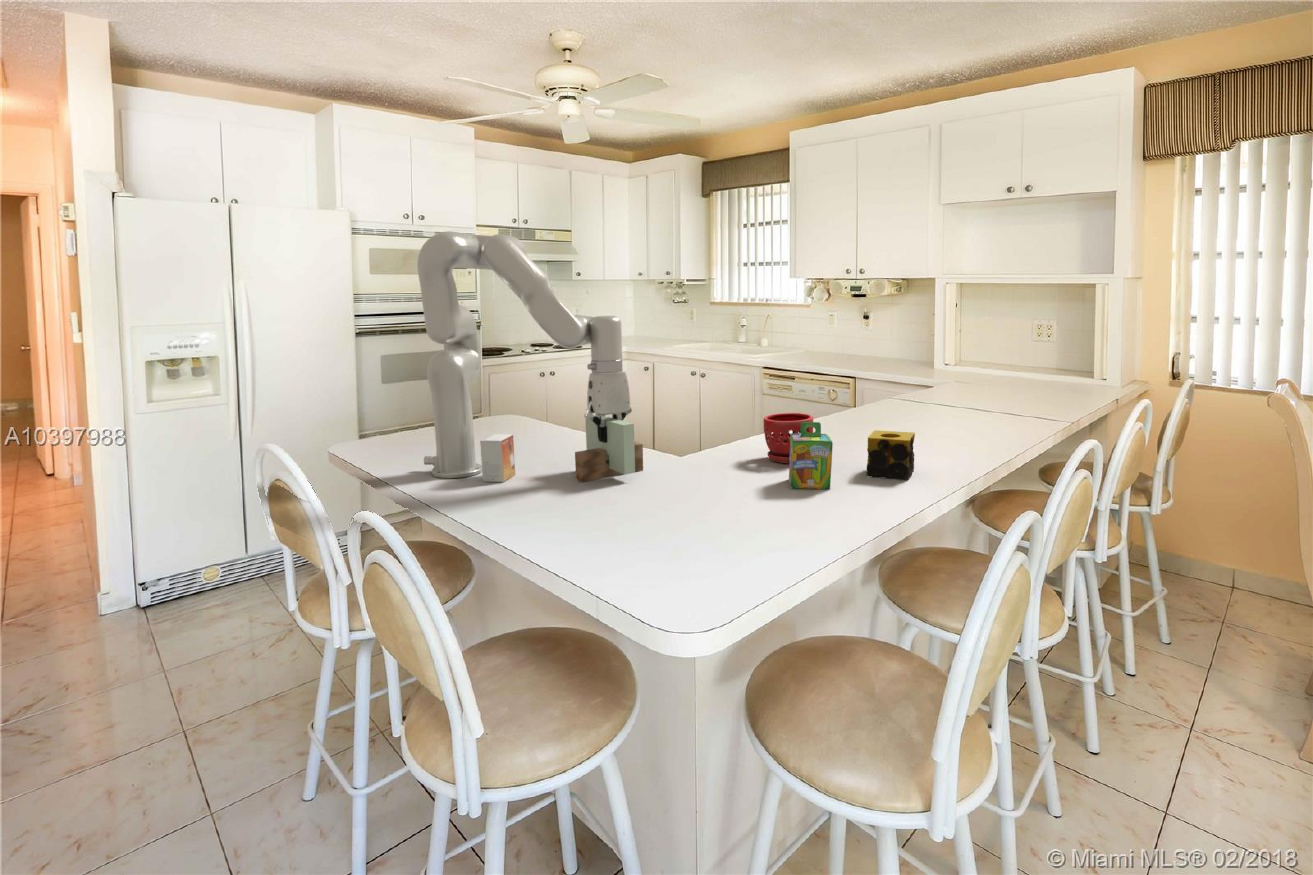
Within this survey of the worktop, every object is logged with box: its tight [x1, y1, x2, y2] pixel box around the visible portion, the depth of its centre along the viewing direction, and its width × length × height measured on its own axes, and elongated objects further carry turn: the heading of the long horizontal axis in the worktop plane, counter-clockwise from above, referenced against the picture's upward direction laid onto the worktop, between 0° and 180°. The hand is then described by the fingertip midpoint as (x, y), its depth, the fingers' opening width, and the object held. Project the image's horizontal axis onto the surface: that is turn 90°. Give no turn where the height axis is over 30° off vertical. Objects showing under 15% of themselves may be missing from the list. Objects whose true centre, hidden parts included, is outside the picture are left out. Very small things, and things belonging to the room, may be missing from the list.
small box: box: [479, 433, 516, 483], centre depth 184 cm, size 8×6×10 cm
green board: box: [584, 413, 636, 475], centre depth 184 cm, size 18×3×12 cm, turn 35°
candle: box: [866, 430, 916, 481], centre depth 182 cm, size 10×10×10 cm
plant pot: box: [763, 412, 814, 465], centre depth 198 cm, size 13×13×12 cm
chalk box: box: [788, 421, 834, 490], centre depth 173 cm, size 9×9×15 cm
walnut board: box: [574, 441, 644, 483], centre depth 185 cm, size 18×3×7 cm, turn 125°
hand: (609, 440), depth 184 cm, fingers closed on green board, 3 cm apart
